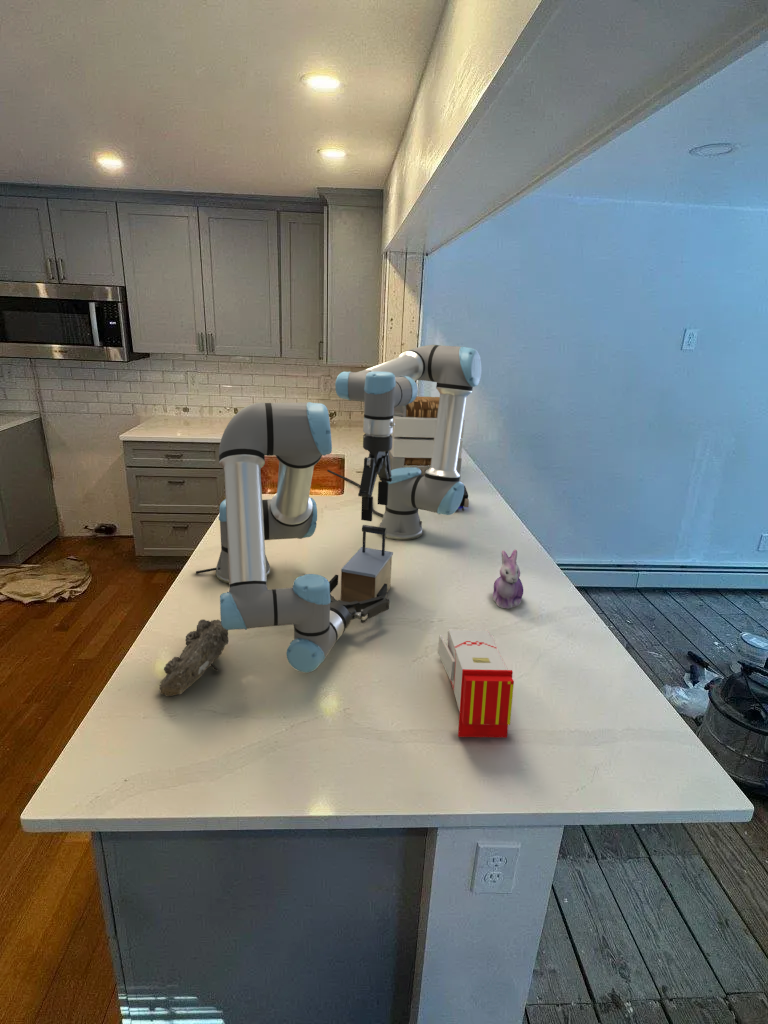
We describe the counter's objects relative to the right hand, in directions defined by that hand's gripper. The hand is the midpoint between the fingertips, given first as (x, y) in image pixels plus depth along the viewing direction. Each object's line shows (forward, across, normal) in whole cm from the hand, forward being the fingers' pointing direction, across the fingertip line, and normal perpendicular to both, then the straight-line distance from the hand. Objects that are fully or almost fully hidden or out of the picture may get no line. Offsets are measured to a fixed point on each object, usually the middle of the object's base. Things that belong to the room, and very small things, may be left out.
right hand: (374, 512), depth 152 cm
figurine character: (+23, +80, -10) cm, 84 cm away
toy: (+23, -36, -34) cm, 54 cm away
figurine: (+23, +7, -37) cm, 44 cm away
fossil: (+23, -49, +22) cm, 59 cm away
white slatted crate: (+23, +122, +17) cm, 126 cm away
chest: (+23, -5, 0) cm, 24 cm away
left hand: (+17, -10, 0) cm, 19 cm away
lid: (+13, -4, 0) cm, 14 cm away
